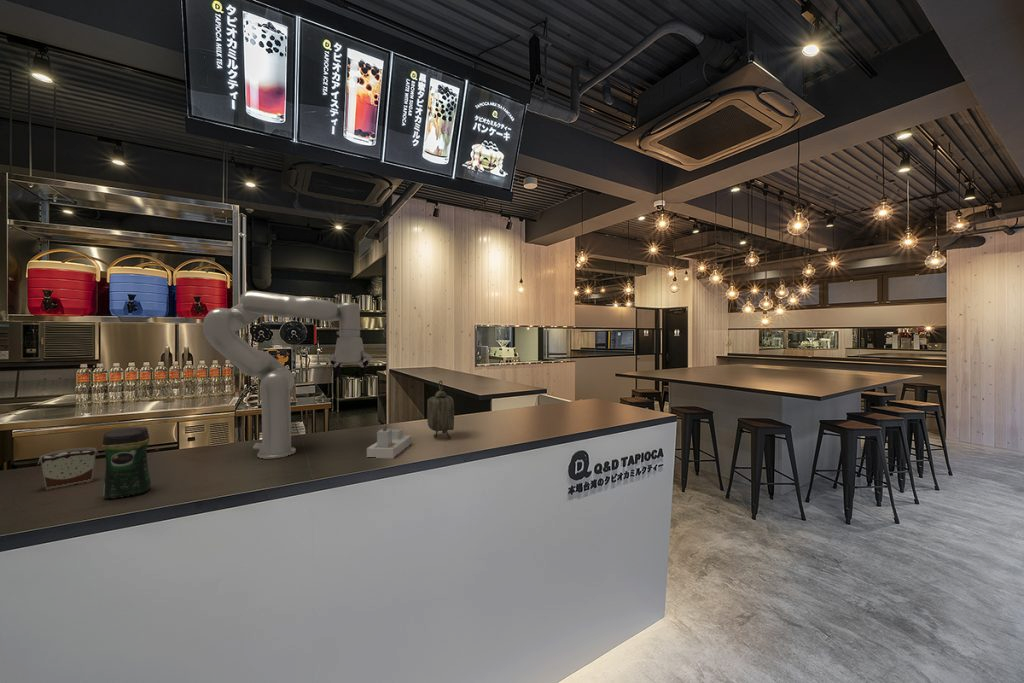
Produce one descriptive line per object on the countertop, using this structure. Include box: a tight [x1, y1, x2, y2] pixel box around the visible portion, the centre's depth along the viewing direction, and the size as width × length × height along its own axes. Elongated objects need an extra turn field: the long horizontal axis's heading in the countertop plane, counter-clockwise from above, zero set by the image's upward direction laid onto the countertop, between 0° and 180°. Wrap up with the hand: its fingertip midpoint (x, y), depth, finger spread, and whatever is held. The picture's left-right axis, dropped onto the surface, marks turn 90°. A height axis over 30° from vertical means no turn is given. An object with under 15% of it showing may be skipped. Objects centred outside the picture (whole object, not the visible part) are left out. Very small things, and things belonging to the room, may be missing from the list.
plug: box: [376, 424, 392, 448], centre depth 154 cm, size 4×5×10 cm
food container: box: [37, 447, 99, 487], centre depth 124 cm, size 12×6×10 cm, turn 141°
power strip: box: [366, 428, 412, 459], centre depth 159 cm, size 10×20×6 cm, turn 175°
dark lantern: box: [426, 380, 455, 440], centre depth 180 cm, size 14×9×25 cm, turn 22°
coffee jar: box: [101, 426, 152, 499], centre depth 116 cm, size 10×8×19 cm
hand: (350, 377), depth 162 cm, fingers open, 9 cm apart
